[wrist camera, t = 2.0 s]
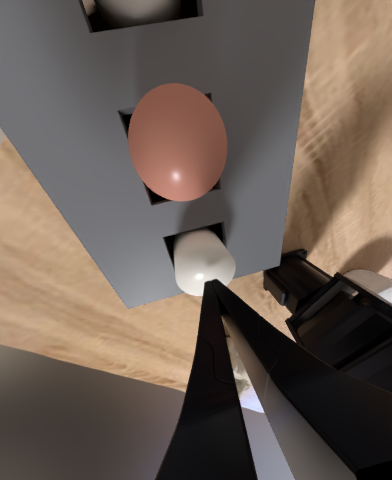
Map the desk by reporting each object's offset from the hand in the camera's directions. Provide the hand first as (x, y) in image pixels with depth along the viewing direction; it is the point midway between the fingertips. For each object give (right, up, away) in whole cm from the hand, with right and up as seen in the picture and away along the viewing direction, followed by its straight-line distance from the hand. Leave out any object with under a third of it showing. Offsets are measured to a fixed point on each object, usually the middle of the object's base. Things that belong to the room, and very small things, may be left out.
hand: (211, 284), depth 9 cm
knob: (-1, +3, +5) cm, 6 cm away
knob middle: (-3, +9, +1) cm, 9 cm away
